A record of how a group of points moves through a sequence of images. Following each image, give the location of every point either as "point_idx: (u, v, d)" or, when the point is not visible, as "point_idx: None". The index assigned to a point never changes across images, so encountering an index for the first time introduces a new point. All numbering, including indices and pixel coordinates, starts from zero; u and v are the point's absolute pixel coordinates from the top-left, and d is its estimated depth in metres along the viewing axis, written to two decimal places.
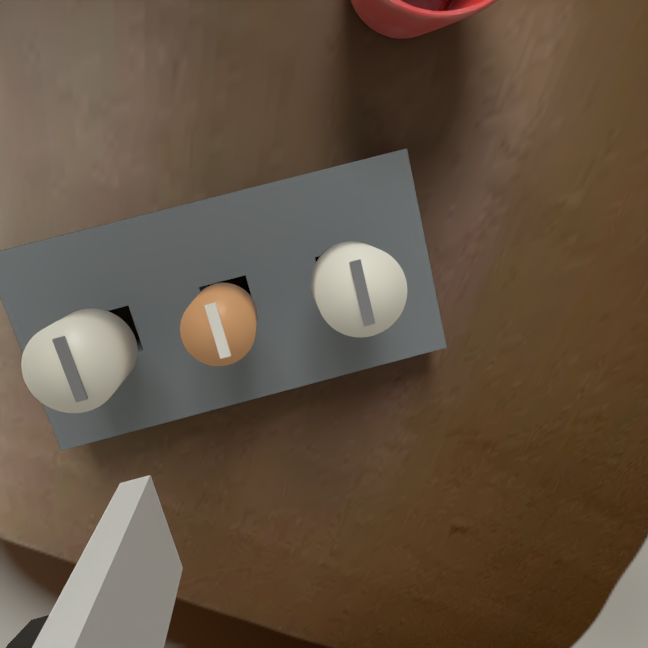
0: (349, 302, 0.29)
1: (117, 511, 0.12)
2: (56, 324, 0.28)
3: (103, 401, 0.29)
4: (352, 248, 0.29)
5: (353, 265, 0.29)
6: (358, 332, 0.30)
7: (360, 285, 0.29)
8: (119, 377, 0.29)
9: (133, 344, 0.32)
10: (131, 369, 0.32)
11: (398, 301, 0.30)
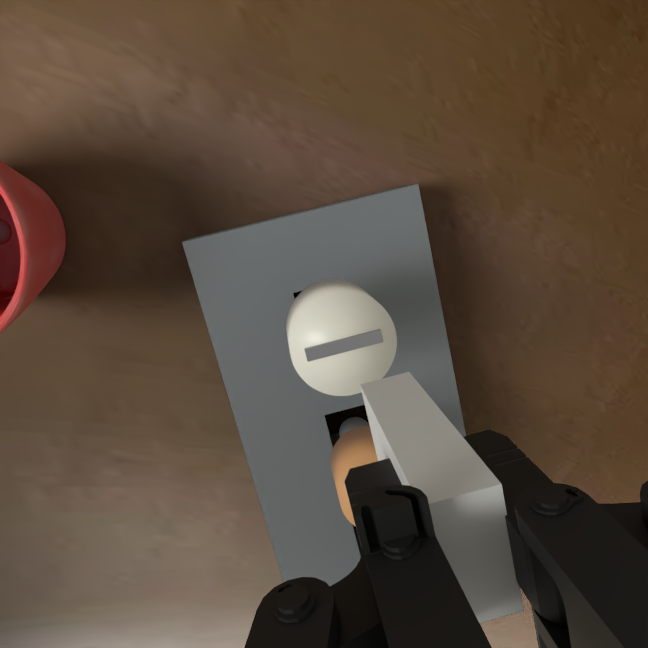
0: (354, 358, 0.25)
1: (380, 398, 0.14)
2: None
3: None
4: (291, 357, 0.25)
5: (311, 357, 0.25)
6: (390, 347, 0.25)
7: (335, 348, 0.25)
8: None
9: None
10: None
11: (355, 301, 0.25)
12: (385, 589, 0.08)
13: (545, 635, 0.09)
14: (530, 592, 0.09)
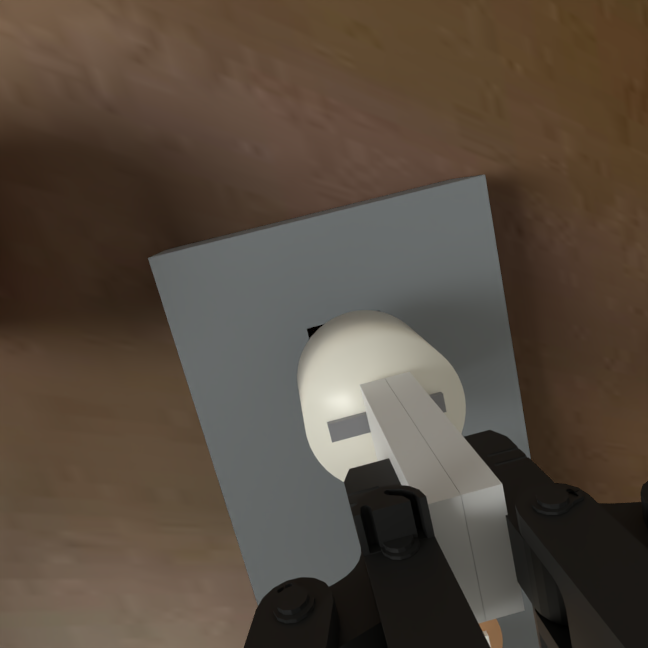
0: None
1: (380, 398, 0.14)
2: None
3: None
4: (308, 435, 0.16)
5: (337, 436, 0.16)
6: (456, 418, 0.17)
7: None
8: None
9: None
10: None
11: (405, 351, 0.16)
12: (384, 589, 0.08)
13: (546, 635, 0.09)
14: (530, 592, 0.09)
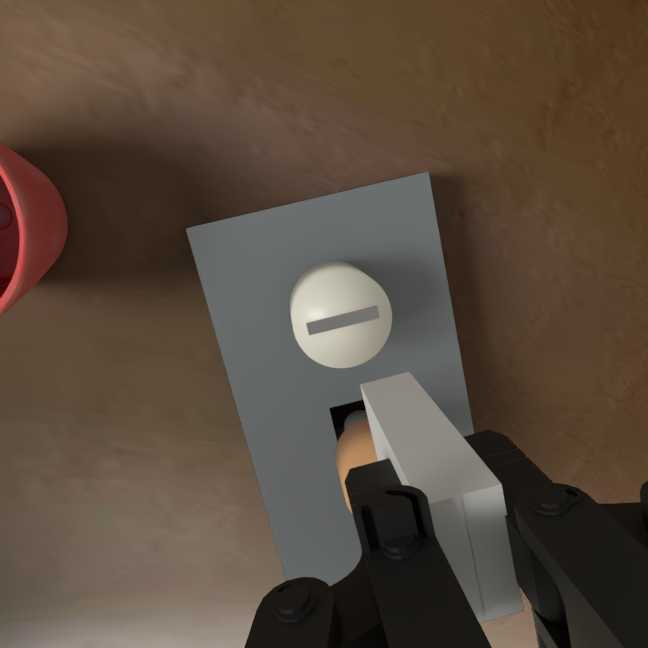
0: (352, 333, 0.27)
1: (380, 398, 0.14)
2: None
3: None
4: (294, 331, 0.27)
5: (312, 331, 0.27)
6: (386, 323, 0.27)
7: (334, 323, 0.27)
8: None
9: None
10: None
11: (354, 279, 0.27)
12: (385, 589, 0.08)
13: (545, 635, 0.09)
14: (529, 592, 0.09)
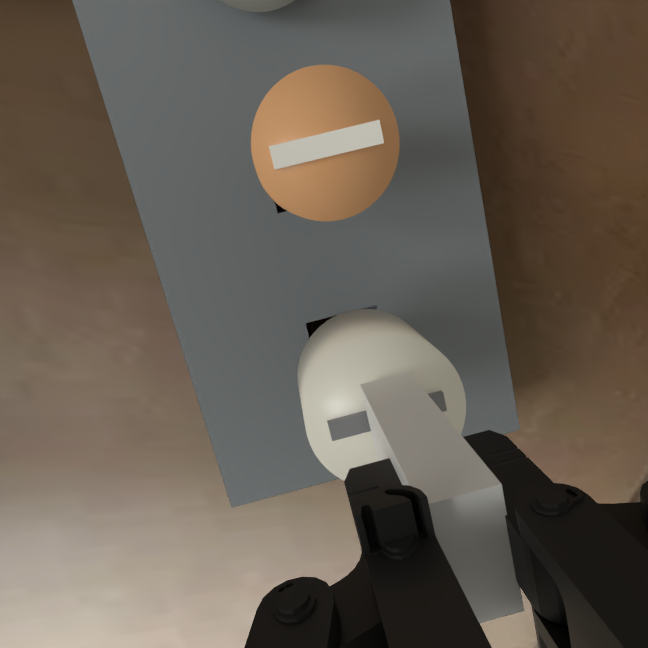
0: None
1: (380, 398, 0.14)
2: (307, 432, 0.16)
3: (449, 365, 0.16)
4: None
5: None
6: None
7: None
8: (407, 336, 0.16)
9: (357, 313, 0.19)
10: (399, 319, 0.19)
11: None
12: (385, 589, 0.08)
13: (545, 635, 0.09)
14: (530, 592, 0.09)
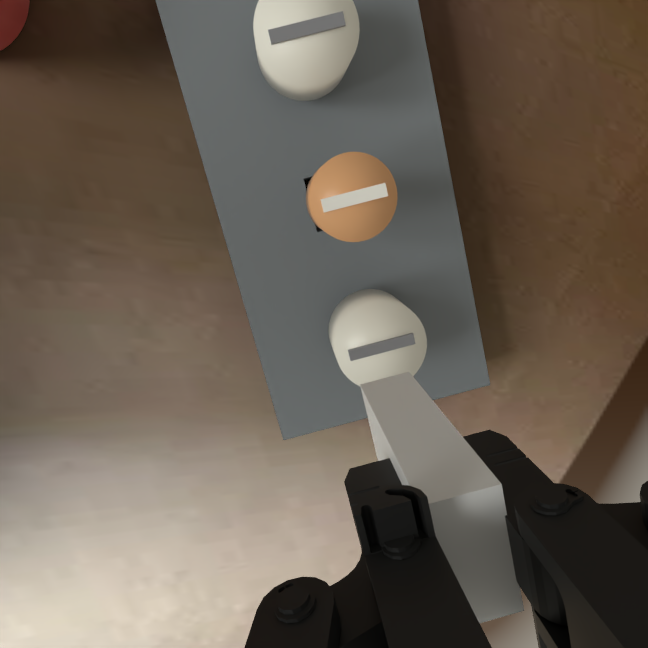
0: (317, 44, 0.26)
1: (380, 398, 0.14)
2: (336, 356, 0.29)
3: (416, 318, 0.29)
4: (256, 40, 0.25)
5: (274, 38, 0.25)
6: (353, 33, 0.26)
7: (297, 30, 0.25)
8: (392, 301, 0.29)
9: (365, 291, 0.32)
10: (390, 295, 0.32)
11: None
12: (385, 589, 0.08)
13: (545, 635, 0.09)
14: (530, 592, 0.09)
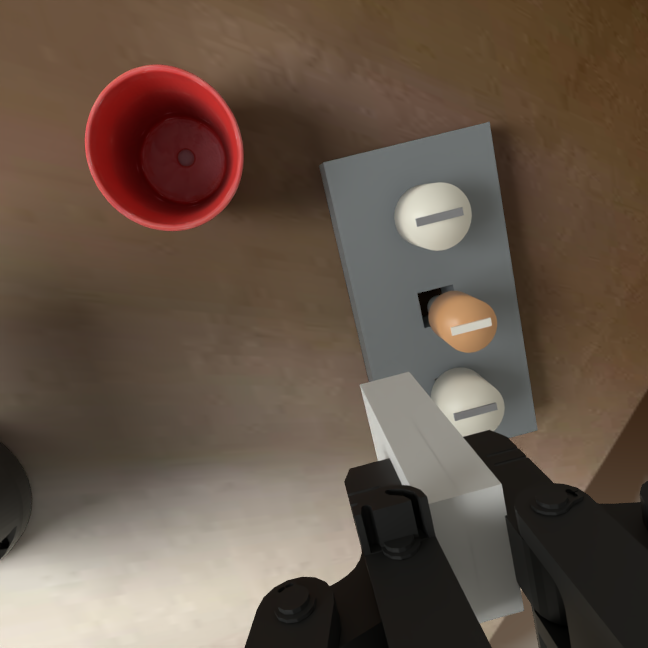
0: (445, 226, 0.41)
1: (380, 398, 0.14)
2: None
3: (498, 393, 0.44)
4: (407, 224, 0.40)
5: (419, 224, 0.40)
6: (467, 219, 0.41)
7: (434, 218, 0.40)
8: (483, 382, 0.44)
9: (458, 370, 0.47)
10: (475, 372, 0.47)
11: (447, 189, 0.40)
12: (385, 589, 0.08)
13: (545, 635, 0.09)
14: (530, 592, 0.09)
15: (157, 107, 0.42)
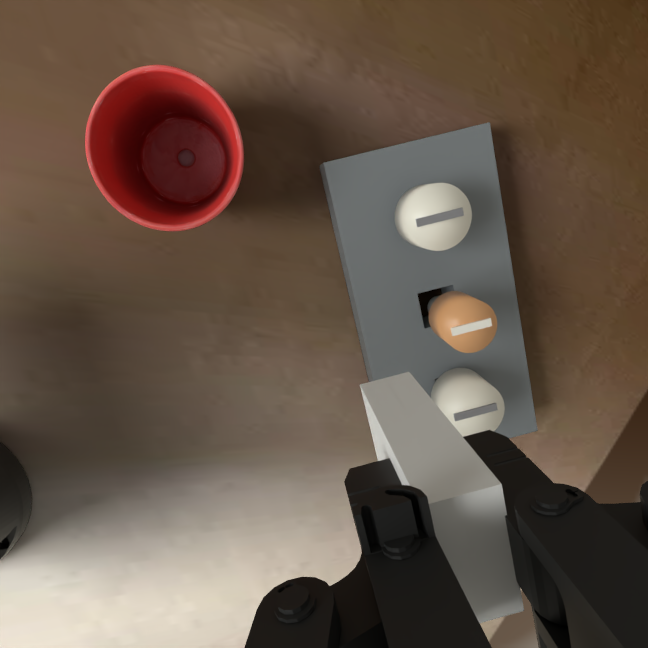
0: (445, 226, 0.41)
1: (379, 398, 0.14)
2: None
3: (498, 393, 0.44)
4: (407, 224, 0.40)
5: (420, 224, 0.40)
6: (467, 219, 0.41)
7: (434, 219, 0.40)
8: (483, 382, 0.44)
9: (458, 370, 0.47)
10: (475, 372, 0.47)
11: (447, 189, 0.40)
12: (385, 589, 0.08)
13: (545, 635, 0.09)
14: (530, 592, 0.09)
15: (157, 107, 0.42)
